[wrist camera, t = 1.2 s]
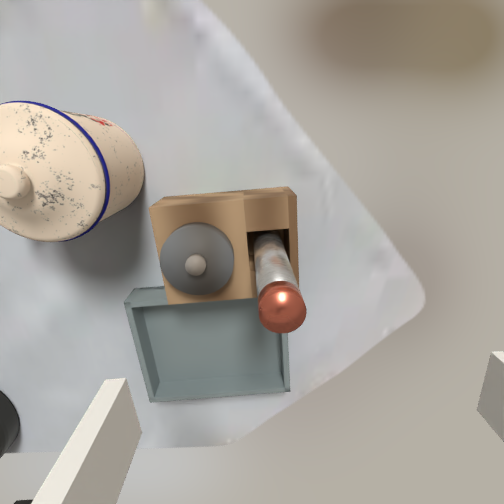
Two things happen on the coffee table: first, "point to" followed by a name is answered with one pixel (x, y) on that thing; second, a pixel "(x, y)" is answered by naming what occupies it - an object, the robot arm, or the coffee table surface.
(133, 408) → the robot arm
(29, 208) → the teacup with lid
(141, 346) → the tray
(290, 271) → the pin
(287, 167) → the coffee table surface
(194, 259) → the tan wooden block
